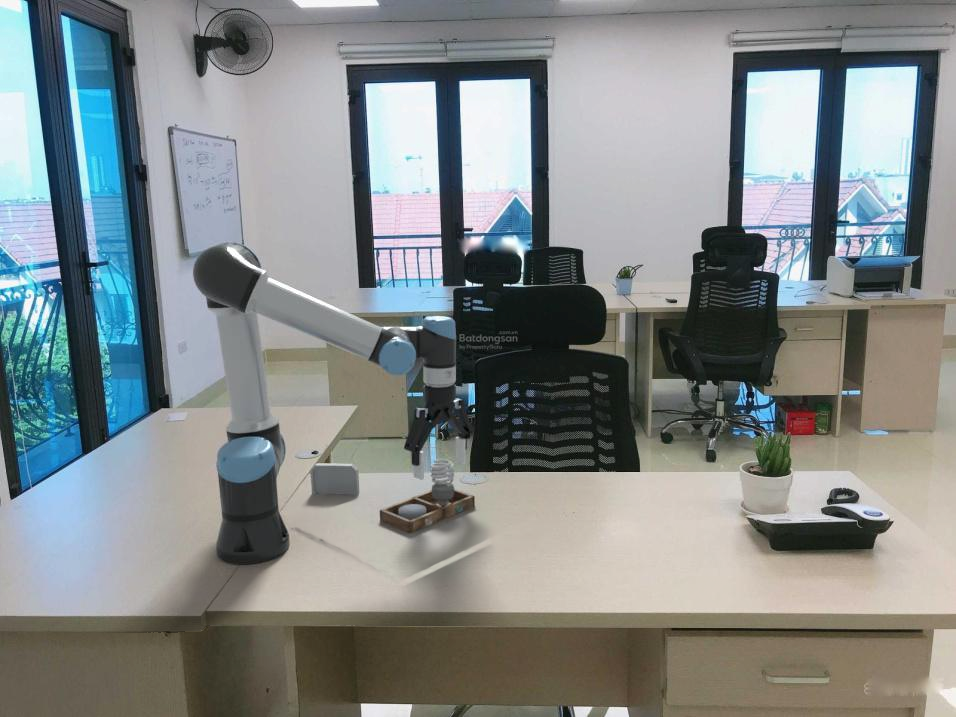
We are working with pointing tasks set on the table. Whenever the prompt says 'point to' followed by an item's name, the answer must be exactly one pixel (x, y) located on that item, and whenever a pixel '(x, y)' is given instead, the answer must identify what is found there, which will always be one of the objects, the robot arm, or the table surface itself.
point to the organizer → (433, 510)
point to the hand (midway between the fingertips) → (440, 470)
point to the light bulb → (442, 481)
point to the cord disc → (412, 511)
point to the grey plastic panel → (334, 479)
